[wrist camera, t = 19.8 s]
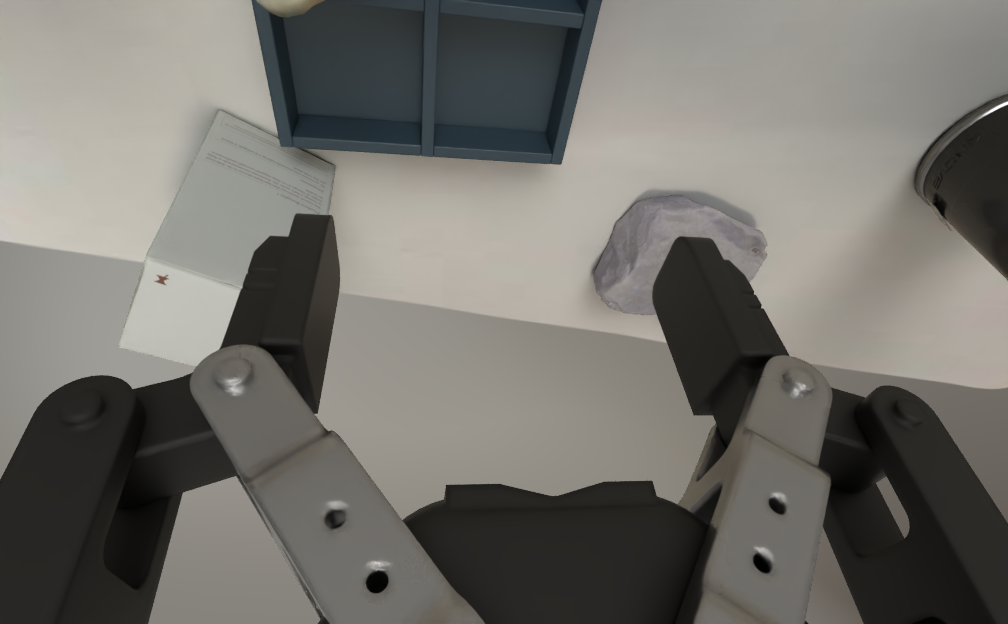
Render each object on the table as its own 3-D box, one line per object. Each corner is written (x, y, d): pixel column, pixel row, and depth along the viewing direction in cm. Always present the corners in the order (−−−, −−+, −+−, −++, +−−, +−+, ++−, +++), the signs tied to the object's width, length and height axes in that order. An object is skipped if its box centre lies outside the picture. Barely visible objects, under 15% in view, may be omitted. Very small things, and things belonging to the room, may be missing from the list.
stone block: (629, 173, 39) (581, 284, 44) (657, 202, 35) (601, 320, 40) (758, 199, 42) (699, 299, 48) (795, 228, 39) (726, 333, 44)
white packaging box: (184, 194, 34) (108, 348, 26) (219, 104, 30) (142, 254, 22) (296, 241, 38) (261, 388, 30) (341, 167, 34) (315, 314, 26)
